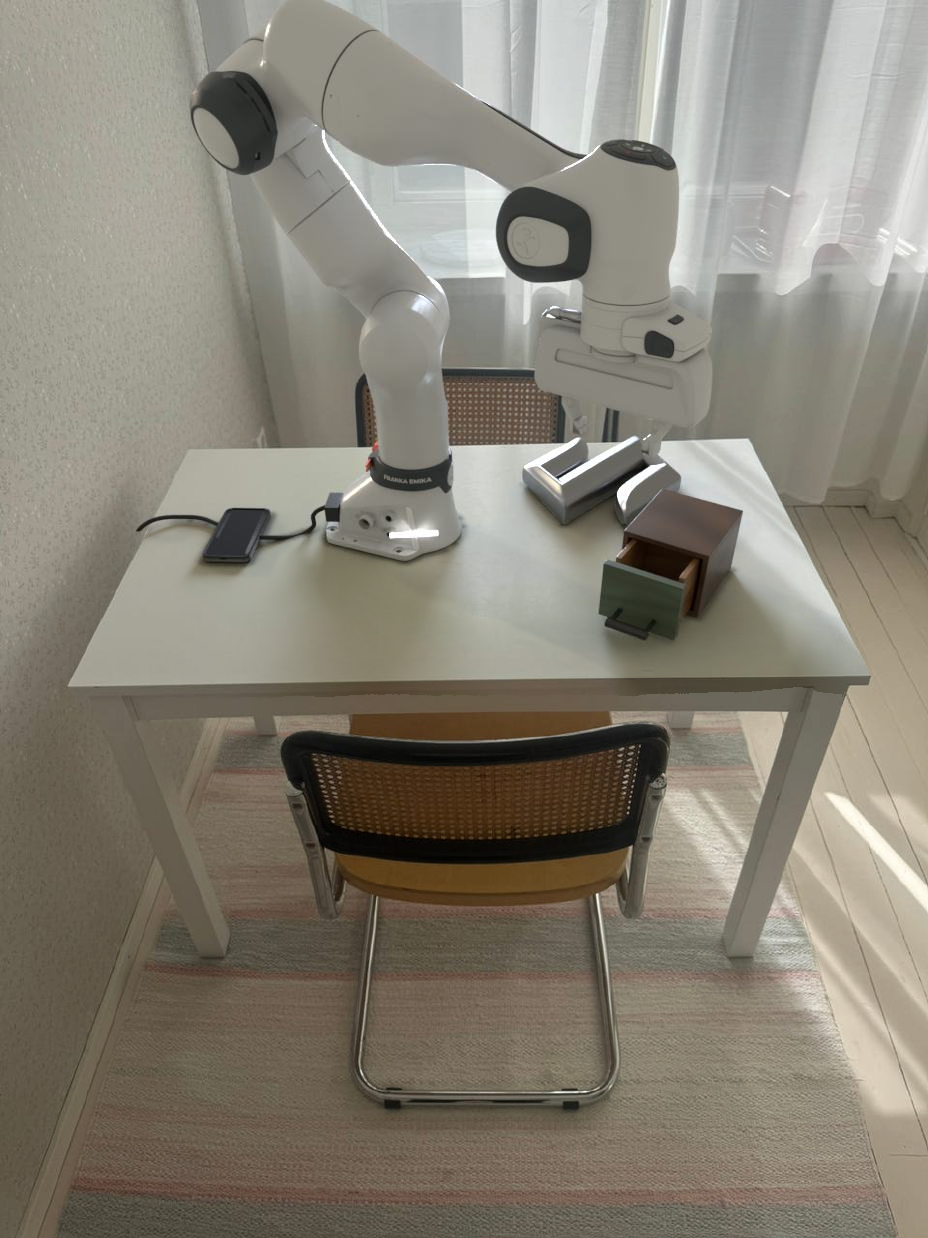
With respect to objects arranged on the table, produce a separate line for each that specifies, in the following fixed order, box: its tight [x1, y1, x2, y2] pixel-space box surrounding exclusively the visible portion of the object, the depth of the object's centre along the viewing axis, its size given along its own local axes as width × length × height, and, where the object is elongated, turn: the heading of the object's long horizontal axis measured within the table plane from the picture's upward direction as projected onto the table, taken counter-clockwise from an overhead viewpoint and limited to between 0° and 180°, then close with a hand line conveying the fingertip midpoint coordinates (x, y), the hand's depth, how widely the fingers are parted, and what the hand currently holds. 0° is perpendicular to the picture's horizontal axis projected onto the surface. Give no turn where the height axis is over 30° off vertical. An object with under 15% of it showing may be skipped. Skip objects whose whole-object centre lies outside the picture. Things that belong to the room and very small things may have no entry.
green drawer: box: [598, 538, 703, 642], centre depth 117 cm, size 17×11×9 cm, turn 147°
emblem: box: [521, 435, 682, 527], centre depth 148 cm, size 28×5×28 cm
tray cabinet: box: [621, 489, 744, 618], centre depth 124 cm, size 14×13×11 cm
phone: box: [201, 507, 272, 564], centre depth 139 cm, size 8×1×15 cm
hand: (613, 442), depth 95 cm, fingers open, 8 cm apart
